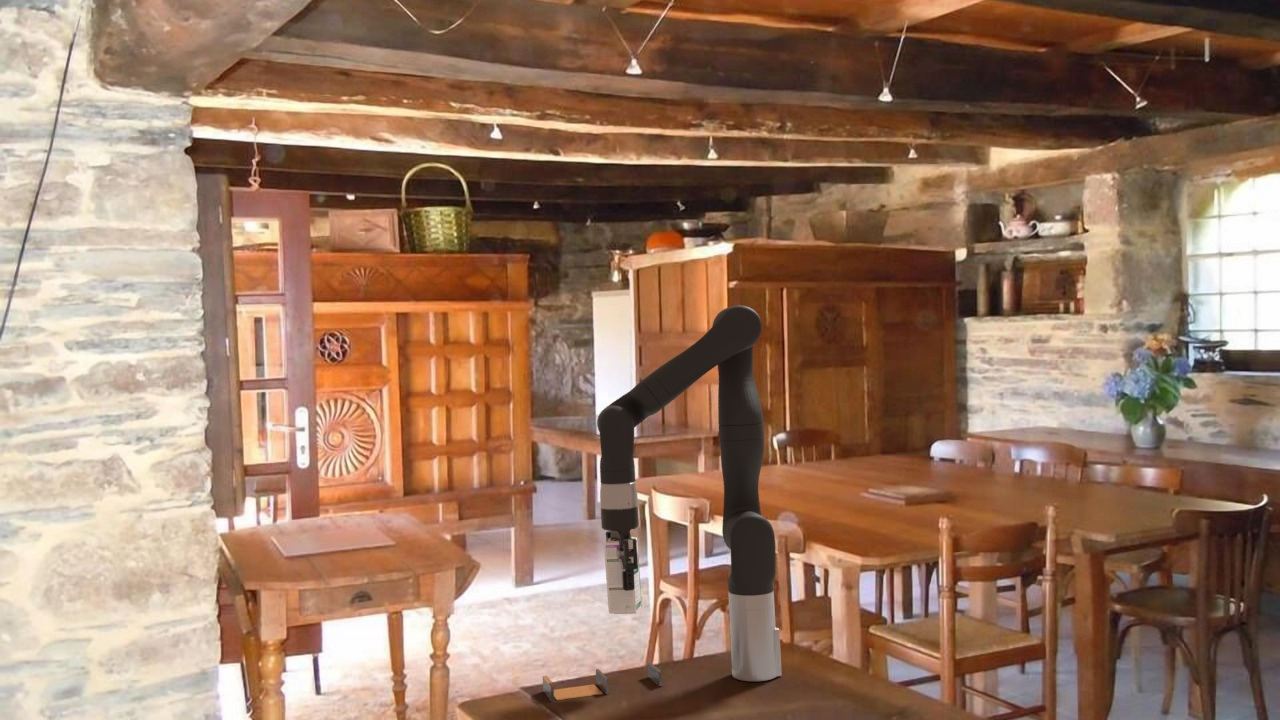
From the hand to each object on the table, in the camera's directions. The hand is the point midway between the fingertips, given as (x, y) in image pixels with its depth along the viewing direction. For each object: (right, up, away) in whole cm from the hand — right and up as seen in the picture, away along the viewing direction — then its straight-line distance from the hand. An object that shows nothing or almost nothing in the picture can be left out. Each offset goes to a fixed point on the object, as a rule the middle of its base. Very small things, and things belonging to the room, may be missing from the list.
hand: (623, 586), depth 216 cm
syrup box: (0, -5, 0) cm, 5 cm away
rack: (-4, -20, -2) cm, 21 cm away
